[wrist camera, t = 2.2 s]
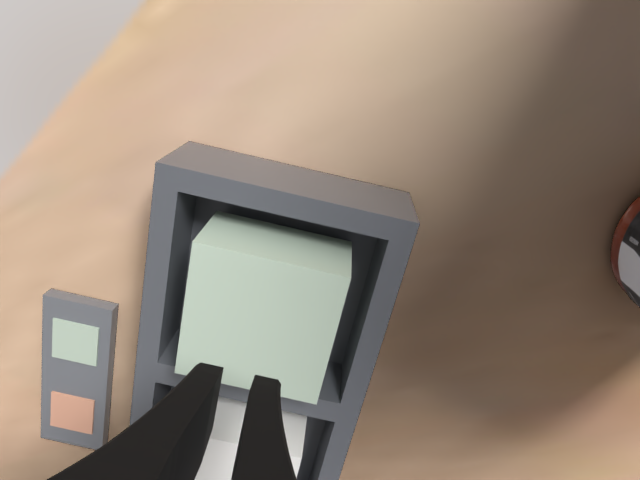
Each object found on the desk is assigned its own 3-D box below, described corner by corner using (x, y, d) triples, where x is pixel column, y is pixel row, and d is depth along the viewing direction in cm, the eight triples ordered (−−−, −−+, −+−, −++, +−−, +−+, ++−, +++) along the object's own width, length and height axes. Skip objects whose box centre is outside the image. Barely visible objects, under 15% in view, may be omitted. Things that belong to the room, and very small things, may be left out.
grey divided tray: (409, 192, 19) (419, 223, 16) (289, 589, 28) (281, 660, 25) (189, 141, 19) (155, 162, 16) (138, 556, 28) (109, 624, 25)
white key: (308, 403, 21) (301, 458, 18) (285, 488, 23) (276, 550, 20) (191, 377, 21) (166, 428, 18) (178, 465, 23) (153, 524, 20)
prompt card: (118, 303, 22) (111, 311, 21) (107, 441, 25) (100, 452, 24) (50, 288, 22) (41, 296, 21) (48, 428, 25) (39, 439, 24)
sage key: (351, 241, 18) (351, 277, 16) (322, 354, 20) (316, 404, 17) (217, 210, 18) (192, 241, 16) (199, 326, 20) (174, 372, 17)
